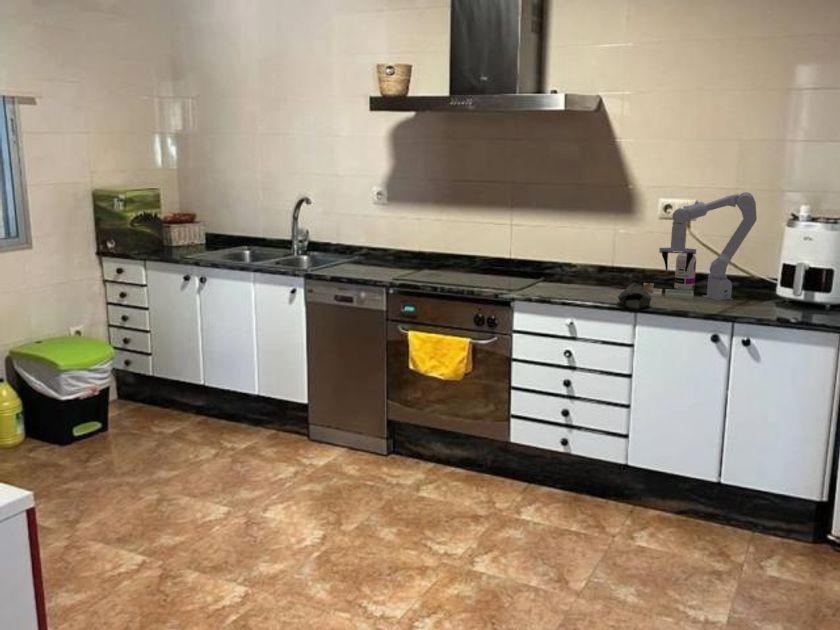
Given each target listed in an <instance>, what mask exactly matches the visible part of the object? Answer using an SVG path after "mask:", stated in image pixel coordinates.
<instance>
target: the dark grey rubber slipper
mask: <svg viewBox="0 0 840 630" xmlns="http://www.w3.org/2000/svg"><path fill="white" fill-rule="evenodd" d="M617 299H618V300H619V302H620V303H621V304H622V305H624V306H625V307H627V308H628V309H642V308H645V307H647V306H649V304H650V303H651V301H652V296H650V295H649V294H648V293H647V291H645V290H644V288H643V286H642V285H641V284H639V283H637V282H632V283H630V284H629V285H628V286H627V287H626V288H625V290H623V291H622V292H621V293H620V294H619V295H618V296H617Z"/></svg>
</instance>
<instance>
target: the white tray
mask: <svg viewBox="0 0 840 630" xmlns="http://www.w3.org/2000/svg"><path fill="white" fill-rule="evenodd" d="M662 292H663V288H653V293H648V294H649V295H650V296H651V297H654V298H656V297H657V298H661V297H662V295H663V293H662Z"/></svg>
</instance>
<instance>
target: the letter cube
mask: <svg viewBox="0 0 840 630" xmlns="http://www.w3.org/2000/svg"><path fill="white" fill-rule="evenodd" d="M654 285H655V284H654V282H653V283H651V282H649V283H648V282H643V286H642V287H643V288H644V290H645V291H647V293H653V288H654ZM654 289H655V288H654Z"/></svg>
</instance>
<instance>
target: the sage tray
mask: <svg viewBox="0 0 840 630" xmlns="http://www.w3.org/2000/svg"><path fill="white" fill-rule="evenodd" d="M694 296H695V295H694V290H681V289H669V288H668V289H667V288H666V289H665V298H673V299H674V298H676V299H689V300H691V299H692V300H693V299H694Z"/></svg>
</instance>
